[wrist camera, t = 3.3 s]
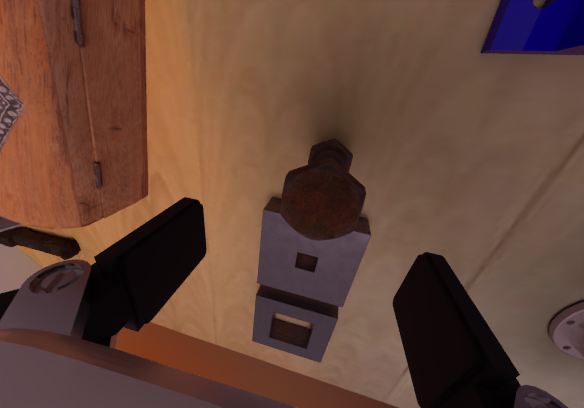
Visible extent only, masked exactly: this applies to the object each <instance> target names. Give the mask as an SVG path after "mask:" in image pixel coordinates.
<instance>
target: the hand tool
mask: <svg viewBox="0 0 584 408" xmlns="http://www.w3.org/2000/svg"><path fill="white" fill-rule="evenodd" d="M0 244H3V245H5V246H9V247H14V246H16V245H20V246H24V247H28V248H31V249H35V250H39V251H43V252H45V253H49V254H52V255H56V256H60V257H61V258H62V259H64V260H66V259H70V258H72V257H73V256H75V255H76V254H78V253H79V251H80V250H81V249H80V247H79V244H78V243H77V241H75V240H70V239H67V240H63V239H59V238H55V237H51V236H49V235H44V234H40V233H36V232H33V231H32V230H31V229H30V228H27V227H15V228H12V229H8V230H5V231H2V232H0Z"/></svg>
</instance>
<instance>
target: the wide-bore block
mask: <svg viewBox="0 0 584 408" xmlns="http://www.w3.org/2000/svg"><path fill="white" fill-rule="evenodd" d="M276 313H279V314H282V315H286V316H289V317H292V318H296V319H299V320H303V321H306V322H309V323H311V326H310V329H308V328H305V327H302V326H298V325H295V324H292V323H288V322H285V321H282V320H279V319H275V314H276ZM337 320H338V306H336V305H333V304H329V303H326V302H322V301H319V300H315V299H312V298H308V297H304V296H301V295H297V294H294V293H290V292H287V291H283V290H280V289H276V288H273V287H269V286H266V285H262V284H261V285H260V287H259V290H258V292H257V294H256V302H255V314H254V326H253V338H252V341H254V342H257V343H260V344H263V345H267V346H270V347H273V348H276V349H279V350H282V351H285V352H288V353H292V354H295V355H298V356H301V357H304V358H307V359H310V360H313V361H317V362H320V363H321V360H322V357H323V355H324V352H325V350H326V347H327V345H328V342H329V340H330V337H331V335H332V332H333V330H334V327H335V325H336V322H337Z"/></svg>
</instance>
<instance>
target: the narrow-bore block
mask: <svg viewBox="0 0 584 408" xmlns="http://www.w3.org/2000/svg"><path fill="white" fill-rule="evenodd" d="M281 201H282V199H278V198H273V197H272V198H271V200H270V201H269V202H268V204H267V205H266V207H265V208H264V210H263V219H262V231H261V243H260V255H259V267H258V278H257V283H259V284H262V285H266V286H269V287H273V288H276V289H280V290H283V291H287V292H290V293H294V294H297V295H301V296H304V297H308V298H312V299H315V300H319V301H322V302H326V303H329V304H333V305H336V306H340V307H343V305H344V302H345V300H346V297H347V295H348V292H349V290H350V287H351V285H352V282H353V280H354V277H355V275H356V272H357V270H358V267H359V265H360V262H361V260H362V257H363V255H364V252H365V250H366V247H367V245H368V242H369V240H370V237H371V232H370V227H369V222H368V219H366V218H362V217H359V219H358V222H357V224H356V227H355V229H354V231H353V232H352V233H350V234H347V235H345V236H342V237H339V238H336V239H331V240H322V241H318V240H311V239H309V238H306V237H304V236H302V235H301V234H299V233H298V232H297V231H295V230H294V229H293V228H292V227H291V226H290V225H289V224H288V223H287V222H286V221H285V220H284V219H283V217H282V216H281Z"/></svg>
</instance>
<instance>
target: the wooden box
mask: <svg viewBox="0 0 584 408" xmlns="http://www.w3.org/2000/svg"><path fill="white" fill-rule="evenodd" d="M145 49H146V48H145V0H0V216H1V217H3V218H6V219H8V220H11V221H14V222H17V223H20V224H24V225H29V226H35V227H41V228H50V229H63V228H77V227H84V226H87V225H90V224H92V223H94V222H96V221H98V220H100V219H102V218H106V217H108V216H110V215H112V214H114V213H116V212H118V211H120V210H121V209H123V208H126V207H128V206H130V205H132V204H134V203H136V202H138V201H139V200H141V199H143V198H144V197H146V196H147V195H148V172H147V113H146V112H147V111H146V51H145Z"/></svg>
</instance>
